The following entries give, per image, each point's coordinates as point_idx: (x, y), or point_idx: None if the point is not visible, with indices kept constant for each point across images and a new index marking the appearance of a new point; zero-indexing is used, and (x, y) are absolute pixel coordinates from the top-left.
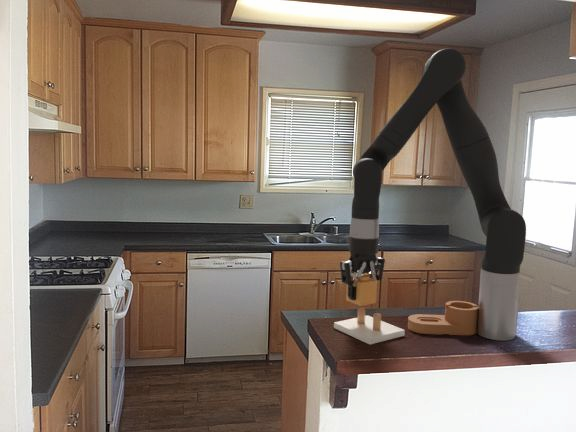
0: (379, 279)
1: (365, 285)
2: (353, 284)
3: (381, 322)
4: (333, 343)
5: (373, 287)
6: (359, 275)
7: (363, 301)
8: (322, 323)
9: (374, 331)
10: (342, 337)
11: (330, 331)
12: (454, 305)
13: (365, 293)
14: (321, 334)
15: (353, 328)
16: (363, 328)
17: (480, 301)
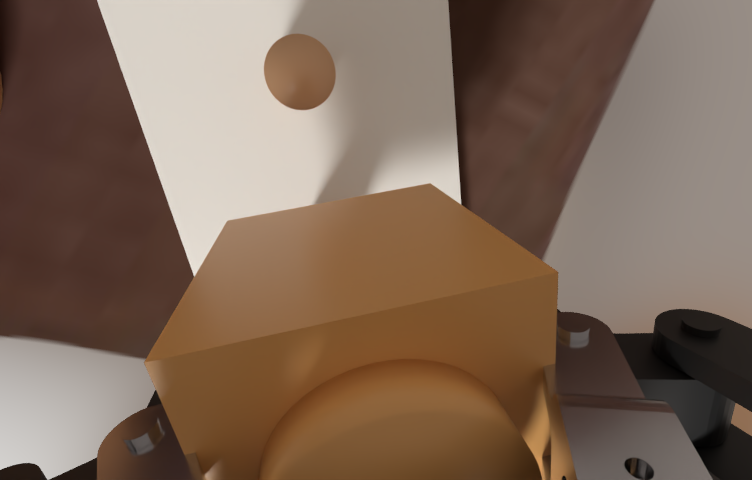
0: (19, 477)
1: (436, 271)
2: (598, 328)
3: (191, 190)
4: (587, 67)
5: (256, 284)
6: (625, 434)
7: (400, 200)
8: None
9: (336, 48)
10: (496, 128)
11: (496, 228)
12: None
13: (398, 227)
14: (557, 206)
15: (426, 155)
16: (371, 131)
17: None
